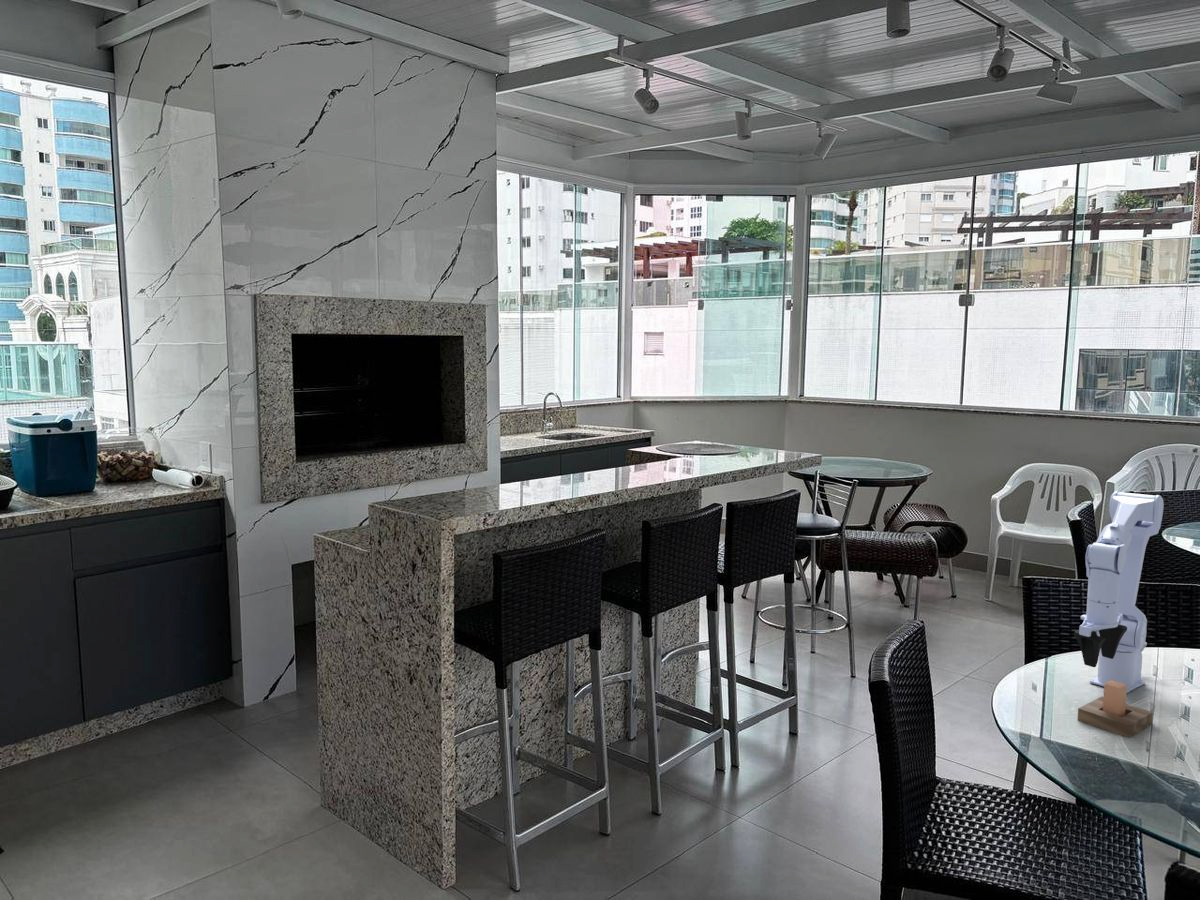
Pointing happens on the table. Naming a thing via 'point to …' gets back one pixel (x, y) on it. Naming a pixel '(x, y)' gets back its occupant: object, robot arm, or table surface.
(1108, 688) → the peg
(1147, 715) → the socket
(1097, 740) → the table surface
